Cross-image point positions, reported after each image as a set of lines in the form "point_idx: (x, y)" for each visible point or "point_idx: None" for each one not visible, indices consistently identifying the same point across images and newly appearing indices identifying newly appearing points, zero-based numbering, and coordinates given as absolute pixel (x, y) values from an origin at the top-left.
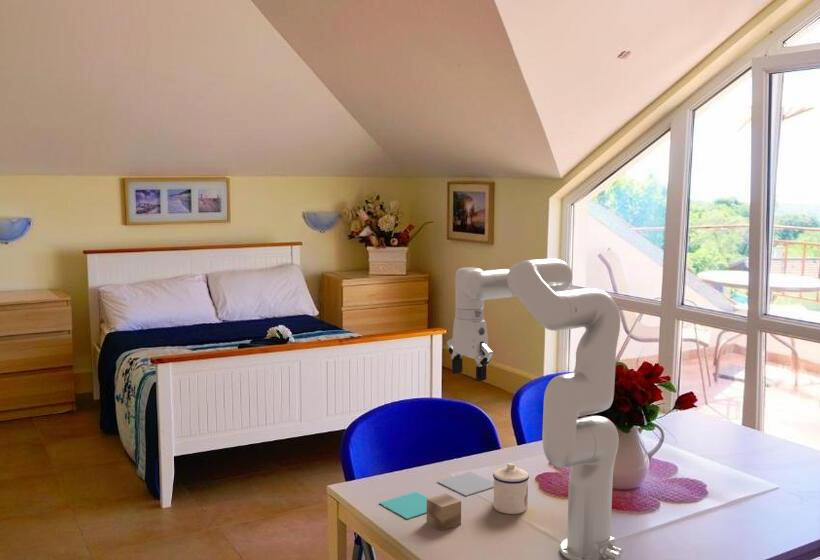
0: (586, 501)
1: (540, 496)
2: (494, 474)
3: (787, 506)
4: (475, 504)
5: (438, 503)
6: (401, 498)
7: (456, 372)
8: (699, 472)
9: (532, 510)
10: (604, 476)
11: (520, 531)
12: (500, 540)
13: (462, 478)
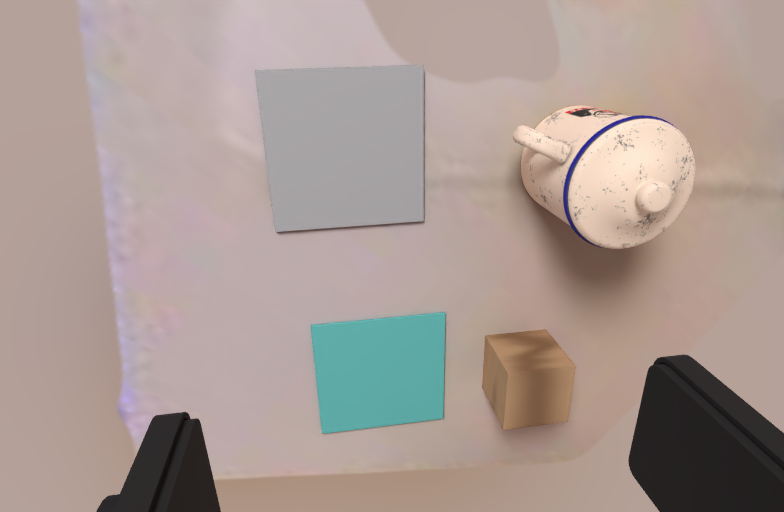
0: None
1: (581, 5)
2: (596, 243)
3: None
4: (484, 230)
5: (544, 418)
6: (330, 379)
7: (216, 506)
8: None
9: None
10: None
11: (676, 235)
12: (667, 303)
13: (298, 141)
